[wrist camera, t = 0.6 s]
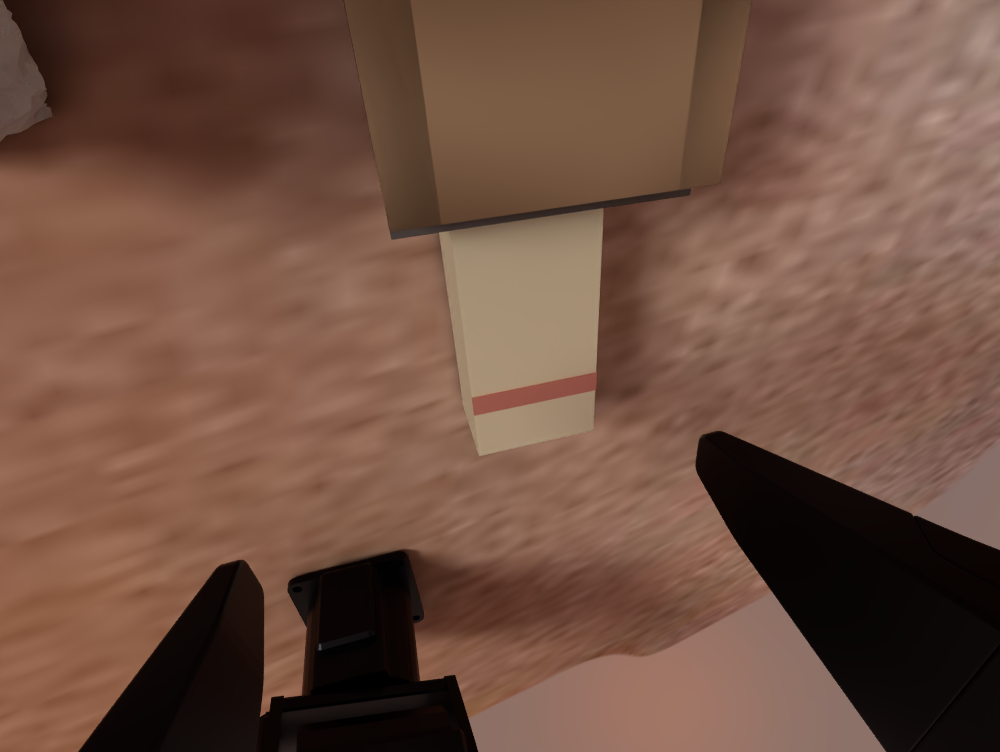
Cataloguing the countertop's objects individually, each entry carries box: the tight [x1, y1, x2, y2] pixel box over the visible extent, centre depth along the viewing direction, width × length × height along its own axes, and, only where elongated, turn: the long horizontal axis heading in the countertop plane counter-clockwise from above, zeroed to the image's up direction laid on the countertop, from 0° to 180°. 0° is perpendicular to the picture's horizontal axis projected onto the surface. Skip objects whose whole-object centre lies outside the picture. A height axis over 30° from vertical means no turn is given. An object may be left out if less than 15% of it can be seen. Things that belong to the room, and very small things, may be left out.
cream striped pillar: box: [439, 208, 604, 456], centre depth 18 cm, size 14×5×4 cm, turn 4°
